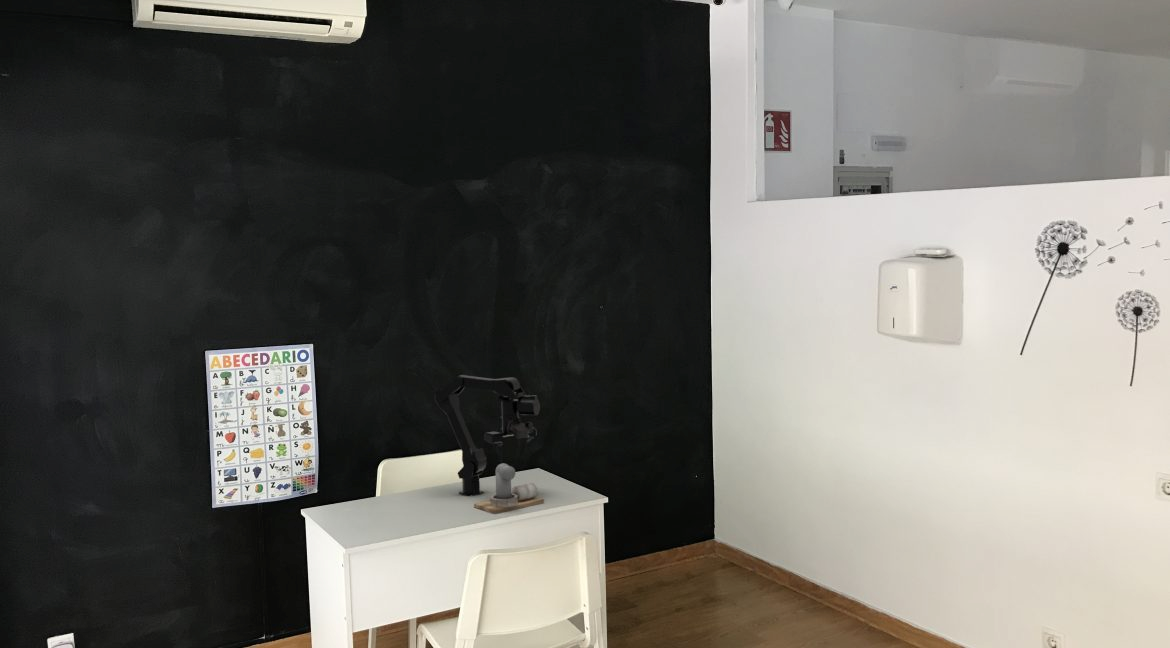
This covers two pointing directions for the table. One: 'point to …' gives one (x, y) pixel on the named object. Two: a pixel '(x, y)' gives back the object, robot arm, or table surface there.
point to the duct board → (512, 500)
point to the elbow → (504, 481)
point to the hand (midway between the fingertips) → (511, 459)
